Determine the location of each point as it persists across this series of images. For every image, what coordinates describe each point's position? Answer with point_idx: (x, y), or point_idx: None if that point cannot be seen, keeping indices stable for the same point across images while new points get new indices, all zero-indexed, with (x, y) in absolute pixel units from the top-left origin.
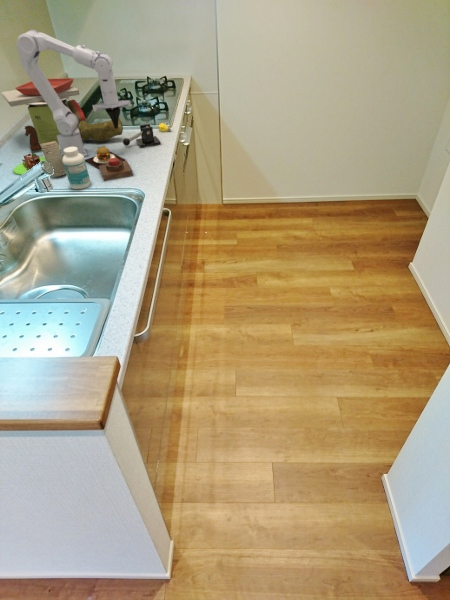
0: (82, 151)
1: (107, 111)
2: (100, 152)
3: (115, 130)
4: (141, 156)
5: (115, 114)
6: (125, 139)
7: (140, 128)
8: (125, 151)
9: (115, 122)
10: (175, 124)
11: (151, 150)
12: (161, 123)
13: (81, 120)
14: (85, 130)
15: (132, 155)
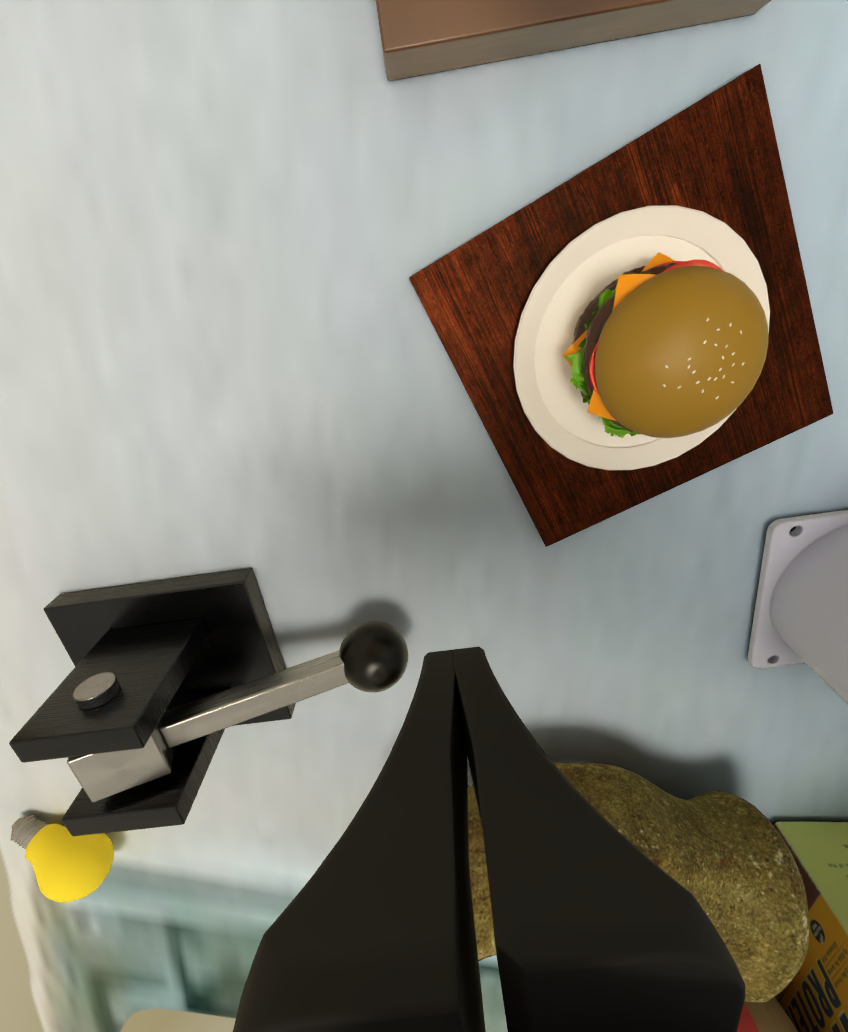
0: (820, 564)
1: (707, 1024)
2: (733, 277)
3: None
4: (229, 351)
5: (434, 874)
6: (376, 663)
7: (188, 781)
8: (399, 531)
9: (460, 752)
10: (15, 905)
11: (135, 483)
12: (60, 896)
13: (745, 1010)
14: (742, 866)
15: (329, 410)
